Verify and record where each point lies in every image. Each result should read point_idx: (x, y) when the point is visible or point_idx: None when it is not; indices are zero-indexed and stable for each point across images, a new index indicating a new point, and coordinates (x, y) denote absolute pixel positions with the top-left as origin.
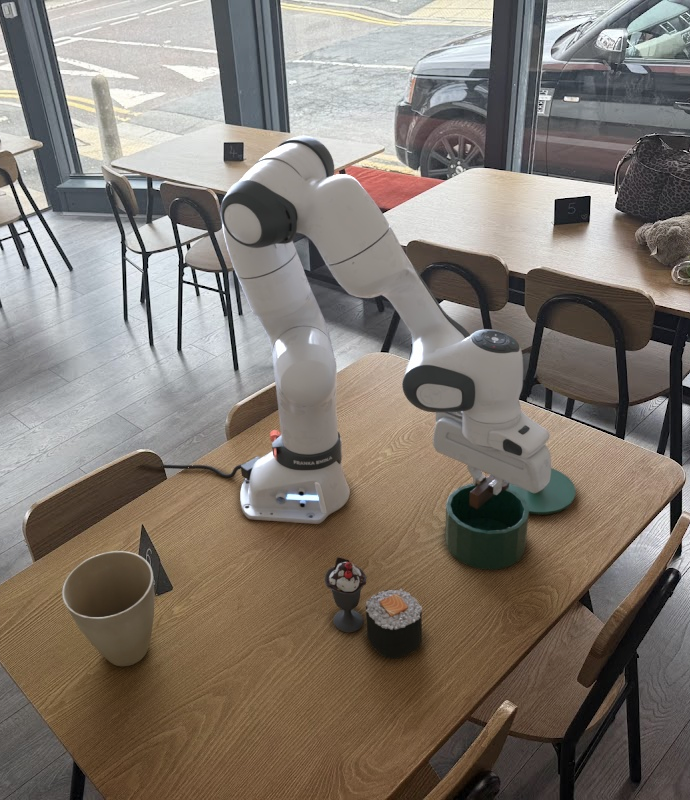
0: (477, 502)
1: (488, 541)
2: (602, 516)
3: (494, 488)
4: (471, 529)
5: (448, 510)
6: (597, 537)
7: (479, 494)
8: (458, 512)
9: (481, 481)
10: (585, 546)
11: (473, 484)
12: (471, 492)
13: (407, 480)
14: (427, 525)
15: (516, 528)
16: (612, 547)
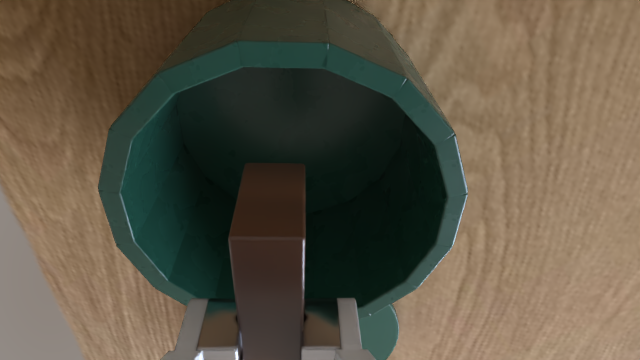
0: (239, 195)
1: (169, 58)
2: (145, 335)
3: (190, 341)
4: (242, 48)
5: (425, 105)
6: (101, 287)
7: (232, 255)
8: (412, 165)
9: (301, 347)
10: (95, 253)
11: (351, 301)
12: (293, 242)
13: (623, 207)
14: (491, 78)
15: (100, 183)
16: (55, 279)
